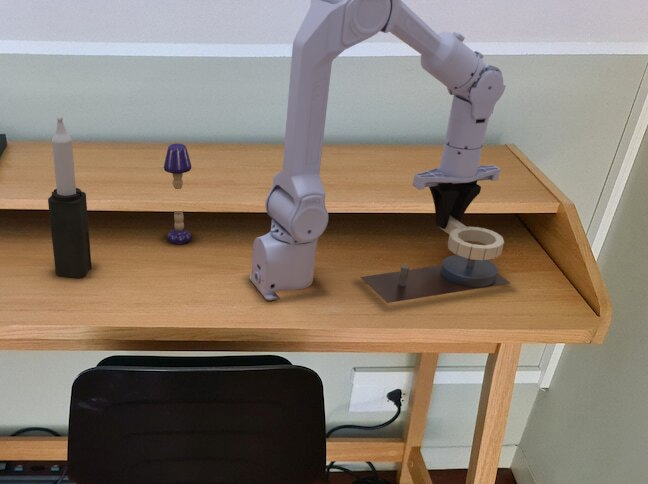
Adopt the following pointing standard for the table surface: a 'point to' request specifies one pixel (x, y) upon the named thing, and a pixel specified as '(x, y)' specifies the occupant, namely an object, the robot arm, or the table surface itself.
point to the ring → (473, 251)
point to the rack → (436, 279)
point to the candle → (68, 212)
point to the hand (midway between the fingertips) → (446, 225)
